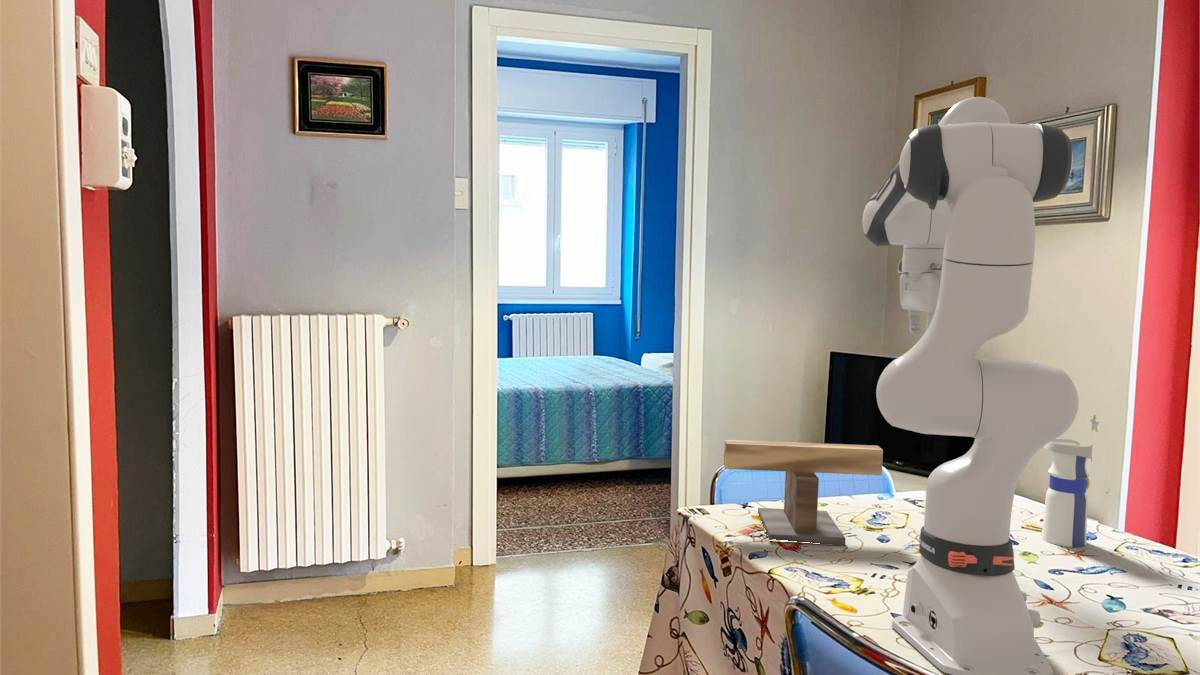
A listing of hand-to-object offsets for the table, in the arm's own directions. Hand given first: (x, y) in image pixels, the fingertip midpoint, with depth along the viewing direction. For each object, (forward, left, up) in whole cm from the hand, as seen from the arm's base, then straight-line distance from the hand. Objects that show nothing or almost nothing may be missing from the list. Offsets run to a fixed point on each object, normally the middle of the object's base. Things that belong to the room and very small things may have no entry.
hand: (922, 334), depth 165 cm
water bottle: (-3, -28, -39) cm, 48 cm away
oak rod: (-4, +23, -27) cm, 36 cm away
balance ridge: (-4, +23, -39) cm, 45 cm away
